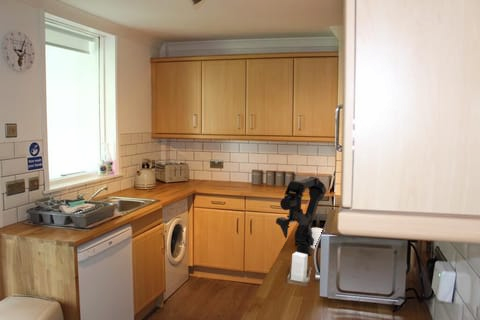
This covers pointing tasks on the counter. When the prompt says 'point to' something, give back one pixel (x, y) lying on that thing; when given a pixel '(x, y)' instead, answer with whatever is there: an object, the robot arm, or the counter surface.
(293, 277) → the skincare box
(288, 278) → the wooden divided tray
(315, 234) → the white cup
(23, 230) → the counter surface
